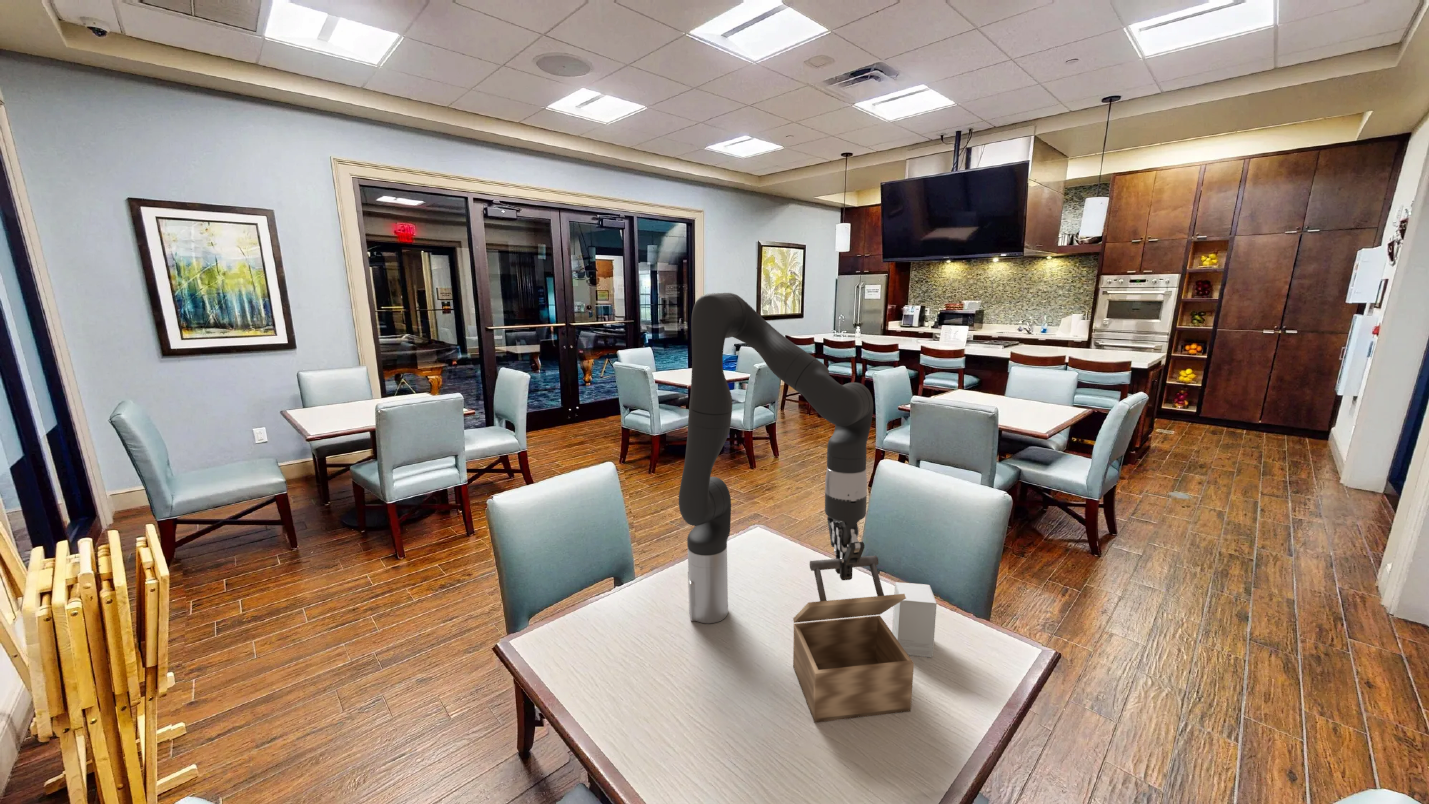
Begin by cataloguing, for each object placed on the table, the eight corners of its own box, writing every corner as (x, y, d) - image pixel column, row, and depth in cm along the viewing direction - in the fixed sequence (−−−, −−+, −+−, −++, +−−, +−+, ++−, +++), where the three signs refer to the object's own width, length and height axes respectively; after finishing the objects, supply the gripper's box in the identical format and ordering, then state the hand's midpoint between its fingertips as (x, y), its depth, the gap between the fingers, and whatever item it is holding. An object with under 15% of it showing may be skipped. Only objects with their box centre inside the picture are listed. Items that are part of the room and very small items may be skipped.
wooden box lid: (809, 607, 91) (800, 558, 96) (793, 622, 103) (786, 578, 108) (905, 598, 93) (892, 550, 98) (879, 614, 105) (868, 571, 110)
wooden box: (814, 722, 92) (815, 673, 89) (793, 667, 105) (793, 623, 103) (910, 711, 94) (913, 663, 91) (877, 658, 107) (879, 615, 105)
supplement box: (933, 658, 107) (937, 603, 104) (896, 654, 108) (899, 600, 106) (926, 635, 114) (930, 584, 111) (891, 632, 115) (894, 580, 113)
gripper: (814, 479, 102) (813, 560, 106) (839, 506, 89) (837, 597, 92) (851, 477, 103) (849, 557, 106) (881, 503, 90) (877, 594, 93)
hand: (843, 575), depth 99 cm, fingers closed on wooden box lid, 2 cm apart
